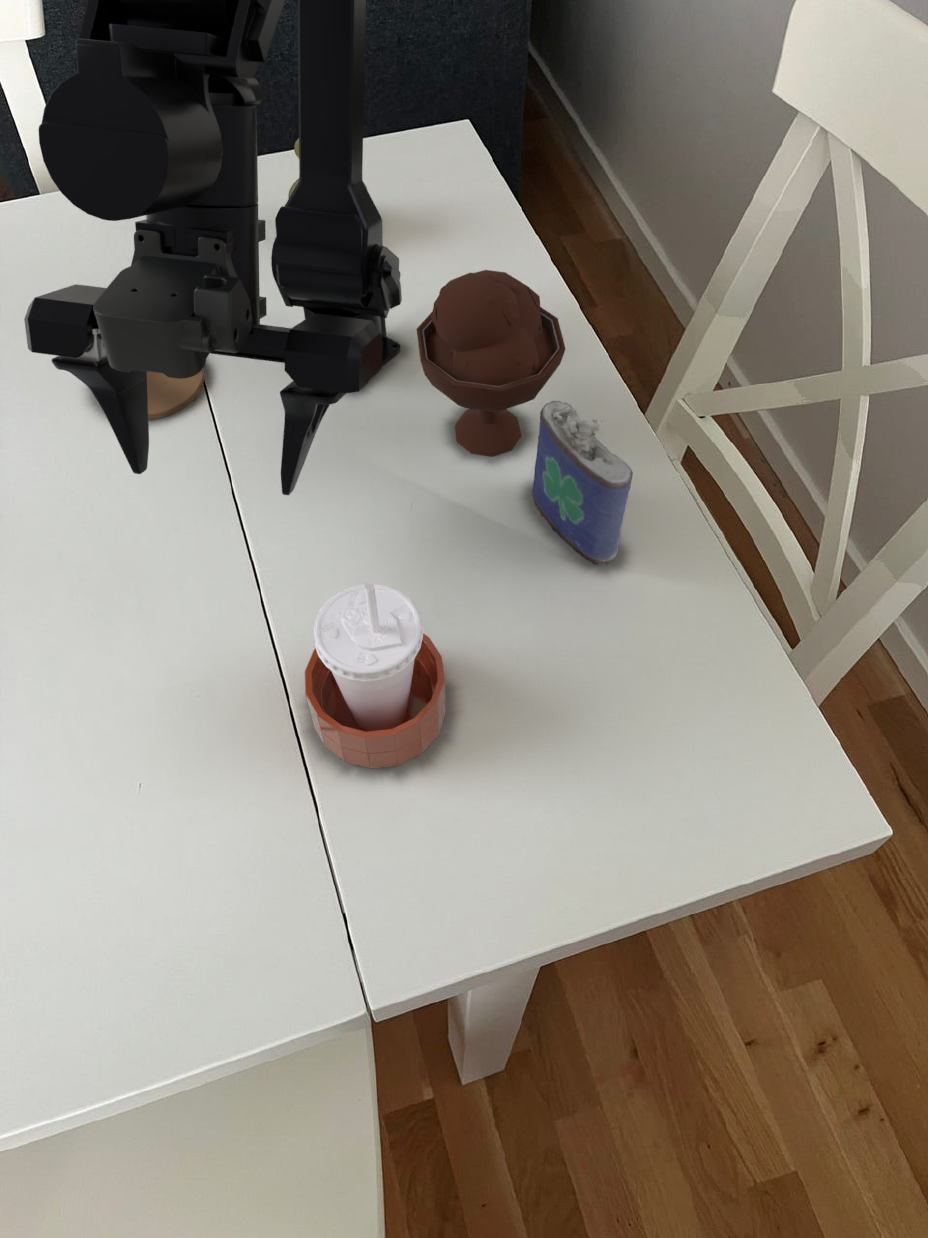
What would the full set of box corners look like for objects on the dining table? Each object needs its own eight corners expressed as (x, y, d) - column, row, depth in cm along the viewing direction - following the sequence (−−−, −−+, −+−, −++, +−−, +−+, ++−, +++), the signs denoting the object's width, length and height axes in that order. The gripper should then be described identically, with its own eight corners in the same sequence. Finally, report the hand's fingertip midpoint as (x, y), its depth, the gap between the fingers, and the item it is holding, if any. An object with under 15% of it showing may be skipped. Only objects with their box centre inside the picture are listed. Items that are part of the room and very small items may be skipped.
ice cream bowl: (545, 489, 77) (560, 334, 64) (406, 468, 78) (394, 312, 66) (565, 396, 82) (582, 237, 70) (435, 378, 84) (429, 219, 71)
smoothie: (391, 768, 63) (375, 649, 51) (311, 721, 65) (277, 596, 53) (446, 694, 66) (442, 566, 54) (367, 651, 68) (347, 519, 56)
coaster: (155, 333, 87) (153, 328, 87) (226, 376, 84) (225, 371, 83) (74, 389, 83) (71, 383, 83) (146, 436, 80) (144, 431, 79)
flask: (623, 557, 73) (644, 455, 64) (591, 574, 72) (608, 473, 63) (551, 479, 77) (561, 373, 68) (520, 494, 76) (526, 389, 68)
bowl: (373, 633, 69) (368, 596, 65) (471, 700, 66) (471, 665, 62) (286, 720, 65) (276, 685, 61) (386, 795, 62) (381, 763, 58)
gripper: (-62, 194, 45) (-12, 509, 53) (332, 239, 43) (326, 560, 51) (64, 177, 55) (91, 445, 62) (390, 213, 53) (378, 486, 60)
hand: (213, 482), depth 59 cm, fingers open, 9 cm apart
